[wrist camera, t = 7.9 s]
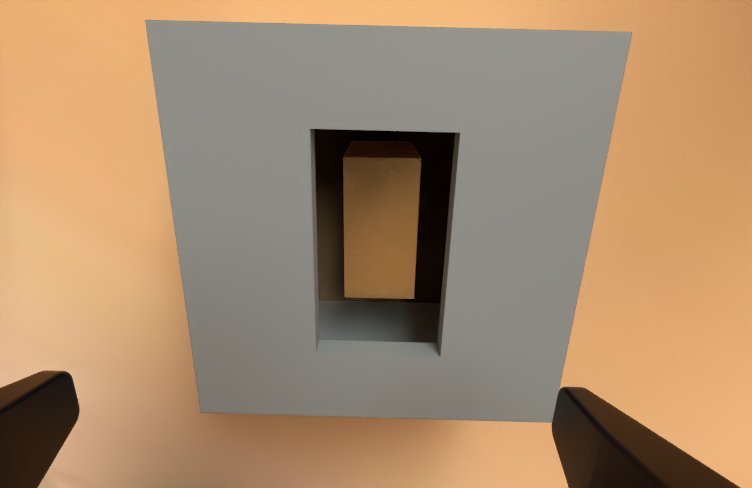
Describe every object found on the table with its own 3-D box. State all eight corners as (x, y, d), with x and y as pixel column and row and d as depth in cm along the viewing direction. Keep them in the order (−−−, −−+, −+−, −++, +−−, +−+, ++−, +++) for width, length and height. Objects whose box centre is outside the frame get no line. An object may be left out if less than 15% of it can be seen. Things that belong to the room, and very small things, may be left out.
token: (406, 250, 20) (413, 298, 15) (353, 249, 20) (344, 297, 15) (411, 141, 18) (421, 158, 14) (353, 140, 18) (343, 157, 14)
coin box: (499, 319, 21) (552, 422, 14) (257, 312, 21) (200, 412, 15) (535, 55, 17) (632, 31, 10) (236, 48, 17) (145, 20, 10)
